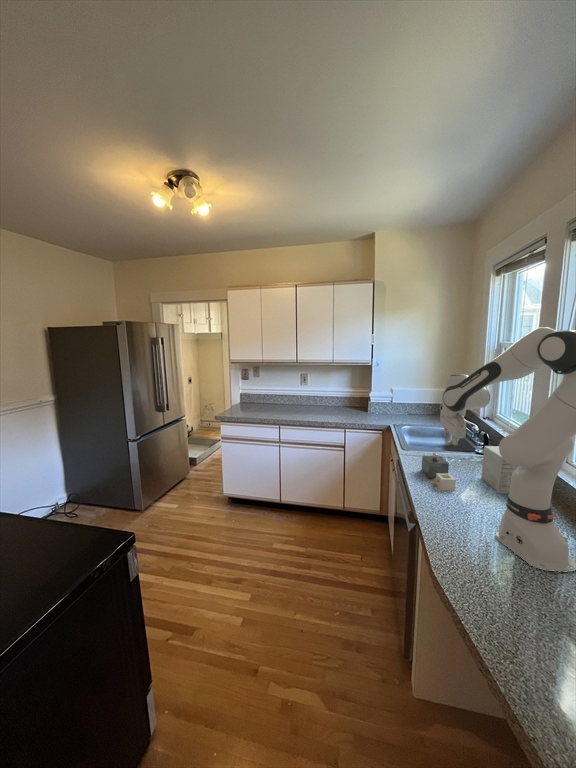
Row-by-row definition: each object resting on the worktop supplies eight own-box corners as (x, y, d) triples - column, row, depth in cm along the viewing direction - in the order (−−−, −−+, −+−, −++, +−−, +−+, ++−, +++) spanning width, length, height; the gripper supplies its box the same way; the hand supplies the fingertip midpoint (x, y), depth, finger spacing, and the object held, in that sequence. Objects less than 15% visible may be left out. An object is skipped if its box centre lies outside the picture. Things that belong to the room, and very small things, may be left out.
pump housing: (454, 490, 138) (455, 479, 137) (436, 489, 139) (437, 479, 138) (448, 483, 144) (449, 473, 143) (431, 483, 144) (431, 473, 144)
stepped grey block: (447, 479, 148) (449, 457, 147) (428, 478, 149) (429, 457, 147) (439, 471, 157) (441, 450, 155) (421, 470, 158) (422, 450, 156)
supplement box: (527, 494, 137) (532, 457, 134) (496, 493, 138) (500, 456, 135) (508, 480, 150) (512, 446, 147) (480, 480, 151) (483, 445, 148)
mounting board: (459, 493, 138) (459, 490, 138) (437, 493, 138) (437, 490, 138) (439, 473, 158) (439, 470, 158) (419, 472, 159) (420, 469, 159)
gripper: (472, 417, 125) (468, 450, 128) (453, 404, 145) (449, 433, 147) (455, 417, 126) (451, 449, 128) (438, 404, 146) (435, 432, 148)
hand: (450, 440), depth 138 cm, fingers open, 8 cm apart
